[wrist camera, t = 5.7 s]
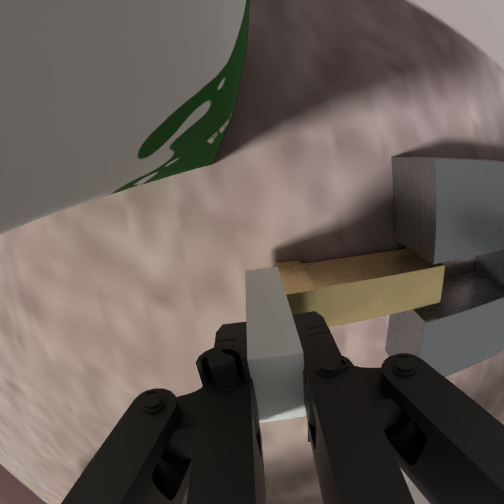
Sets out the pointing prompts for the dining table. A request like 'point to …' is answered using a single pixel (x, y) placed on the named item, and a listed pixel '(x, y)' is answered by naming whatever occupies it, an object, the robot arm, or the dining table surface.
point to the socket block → (452, 258)
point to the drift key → (362, 285)
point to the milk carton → (111, 96)
